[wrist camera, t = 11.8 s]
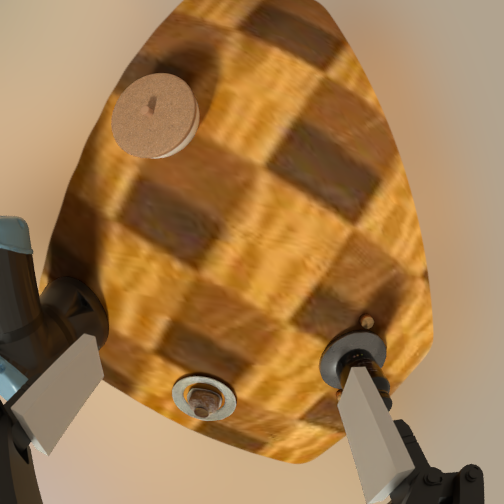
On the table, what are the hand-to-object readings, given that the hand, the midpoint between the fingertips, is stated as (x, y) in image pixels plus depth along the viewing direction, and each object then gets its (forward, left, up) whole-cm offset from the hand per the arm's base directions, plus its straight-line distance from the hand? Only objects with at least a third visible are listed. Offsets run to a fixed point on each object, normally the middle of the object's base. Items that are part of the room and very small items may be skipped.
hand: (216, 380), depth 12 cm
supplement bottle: (+20, -17, -26) cm, 37 cm away
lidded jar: (-12, +17, -27) cm, 34 cm away
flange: (+20, -17, -27) cm, 37 cm away
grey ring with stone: (-5, -28, -27) cm, 40 cm away
